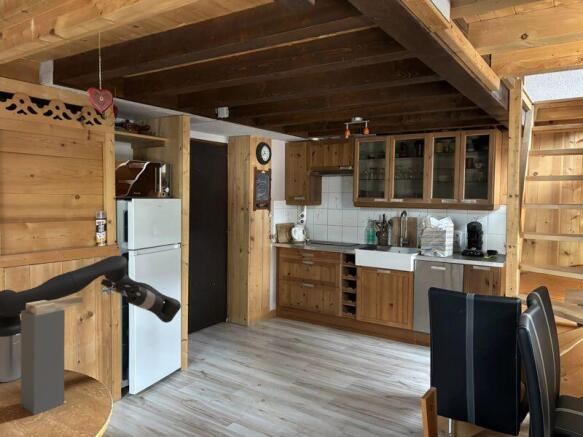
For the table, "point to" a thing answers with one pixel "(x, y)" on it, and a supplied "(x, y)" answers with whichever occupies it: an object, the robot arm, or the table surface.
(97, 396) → the table surface
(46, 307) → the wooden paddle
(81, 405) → the table surface
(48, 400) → the tall grey pillar
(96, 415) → the table surface
